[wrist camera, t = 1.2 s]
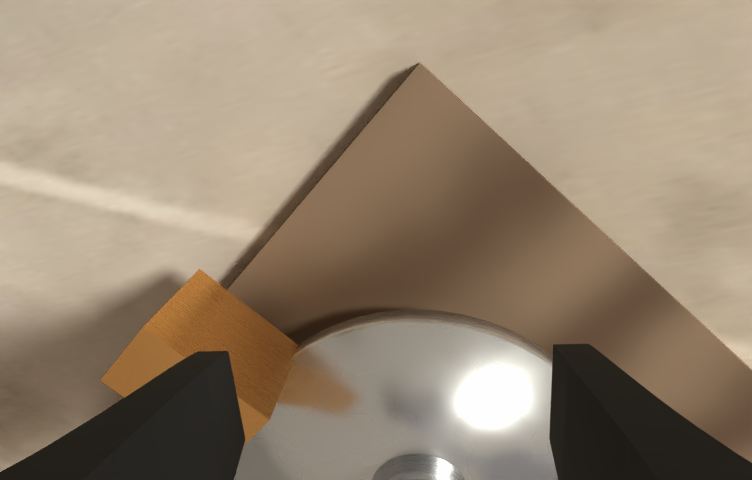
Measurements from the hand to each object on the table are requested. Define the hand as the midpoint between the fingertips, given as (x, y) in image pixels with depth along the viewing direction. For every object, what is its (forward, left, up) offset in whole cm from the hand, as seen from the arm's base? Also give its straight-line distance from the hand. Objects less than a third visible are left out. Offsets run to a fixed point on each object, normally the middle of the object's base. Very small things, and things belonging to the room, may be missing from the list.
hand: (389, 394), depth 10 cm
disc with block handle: (-5, +7, -8) cm, 11 cm away
